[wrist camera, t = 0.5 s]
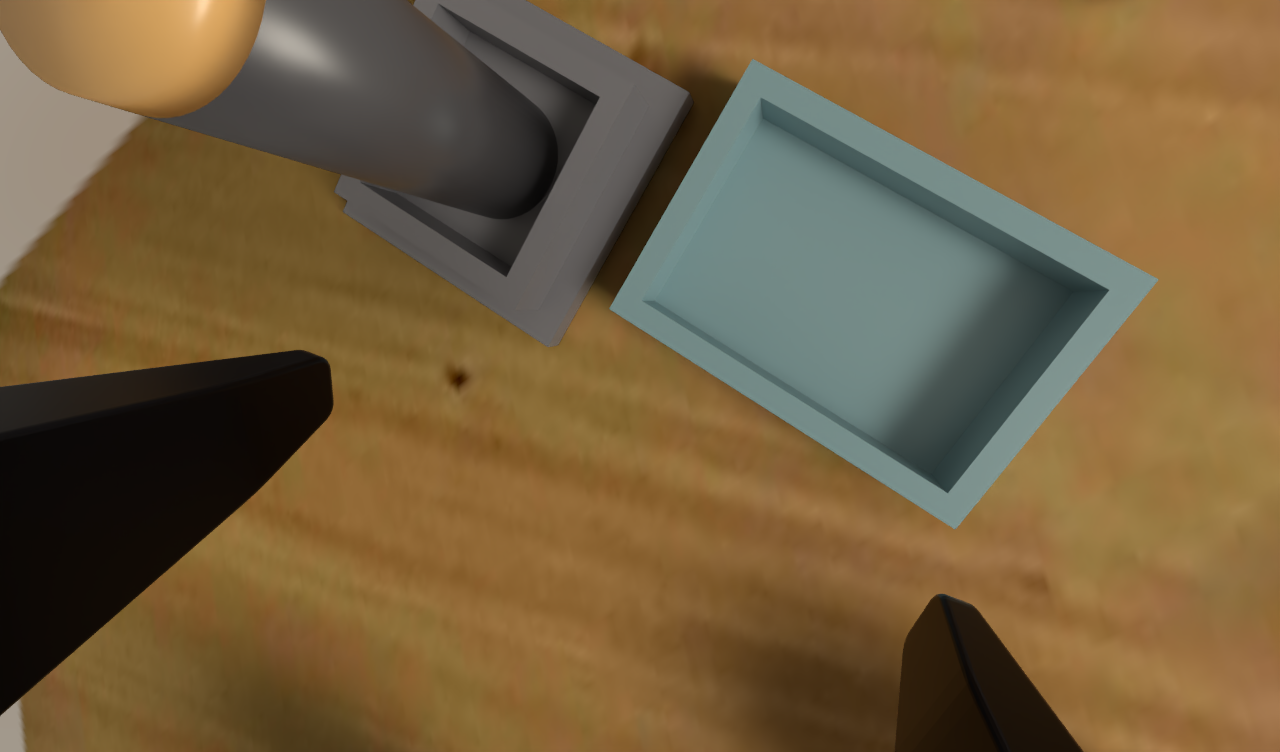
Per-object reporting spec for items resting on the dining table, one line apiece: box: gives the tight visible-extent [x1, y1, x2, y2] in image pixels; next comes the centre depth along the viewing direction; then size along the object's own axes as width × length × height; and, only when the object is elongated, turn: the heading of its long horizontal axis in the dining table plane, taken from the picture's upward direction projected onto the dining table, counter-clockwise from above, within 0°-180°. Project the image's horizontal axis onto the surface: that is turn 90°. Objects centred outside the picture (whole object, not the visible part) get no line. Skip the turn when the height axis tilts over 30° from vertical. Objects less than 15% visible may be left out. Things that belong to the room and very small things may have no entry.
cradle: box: [334, 0, 694, 347], centre depth 21 cm, size 10×10×3 cm
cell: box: [0, 0, 558, 219], centre depth 14 cm, size 4×4×14 cm
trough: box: [609, 59, 1158, 529], centre depth 18 cm, size 9×13×3 cm
